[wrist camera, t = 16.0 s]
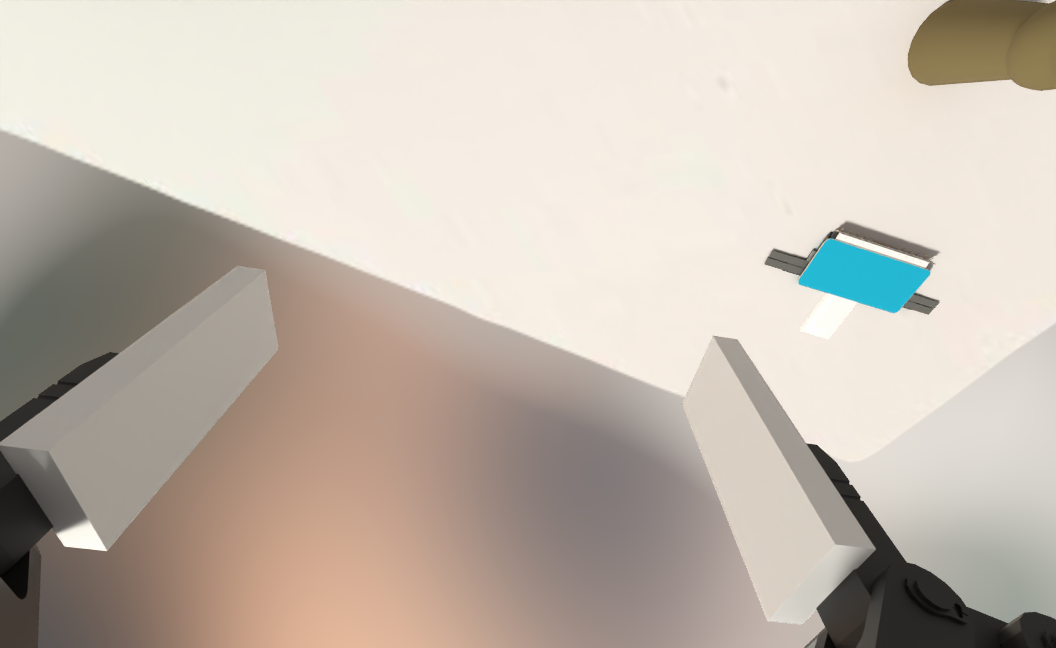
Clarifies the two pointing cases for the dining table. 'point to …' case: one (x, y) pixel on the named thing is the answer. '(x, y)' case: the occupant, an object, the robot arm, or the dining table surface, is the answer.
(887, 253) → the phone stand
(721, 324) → the dining table surface
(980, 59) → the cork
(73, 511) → the robot arm
